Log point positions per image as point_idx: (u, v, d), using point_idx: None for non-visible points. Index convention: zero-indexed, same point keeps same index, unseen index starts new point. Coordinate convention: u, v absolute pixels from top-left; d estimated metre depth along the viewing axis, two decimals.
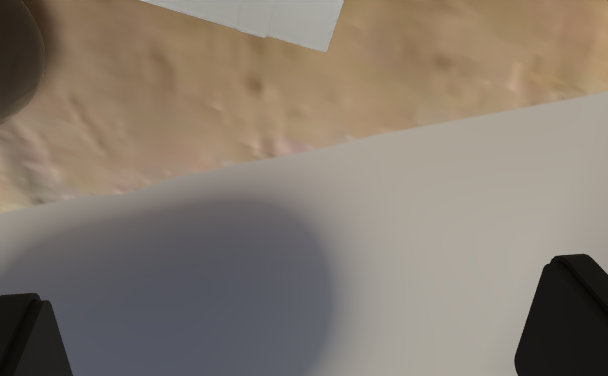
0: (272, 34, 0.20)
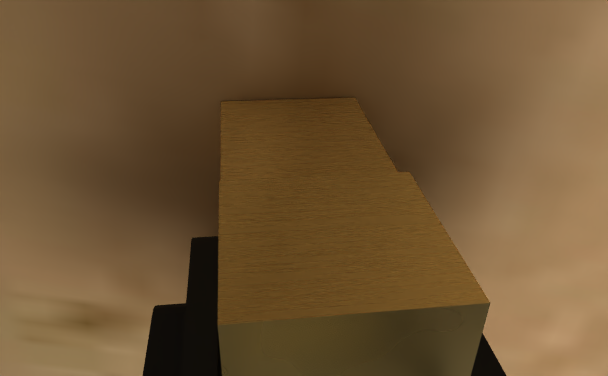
0: None
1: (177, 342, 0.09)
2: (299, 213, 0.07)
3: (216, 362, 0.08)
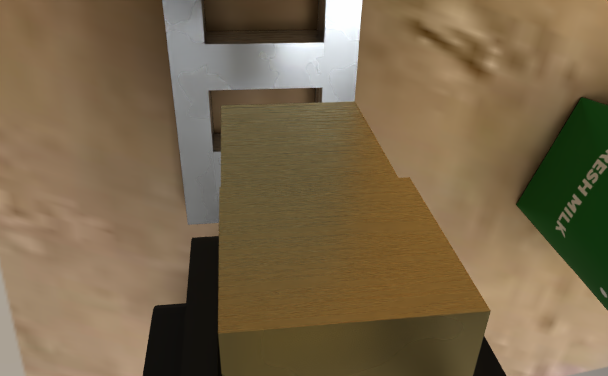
0: None
1: (176, 342, 0.09)
2: (299, 219, 0.07)
3: (216, 362, 0.08)
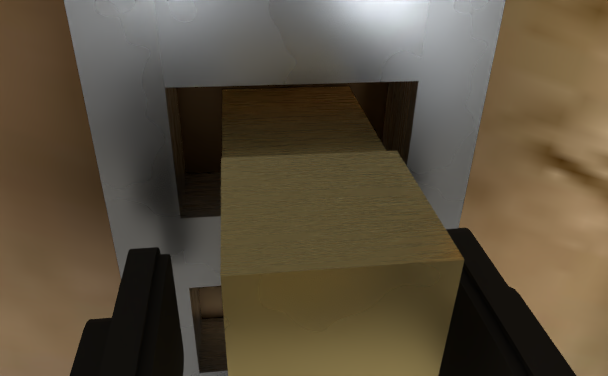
0: None
1: None
2: (294, 185, 0.08)
3: None
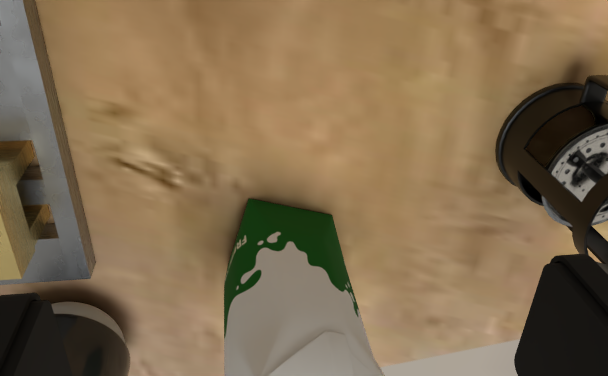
0: None
1: None
2: None
3: None
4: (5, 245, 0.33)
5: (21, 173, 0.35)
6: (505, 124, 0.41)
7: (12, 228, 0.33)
